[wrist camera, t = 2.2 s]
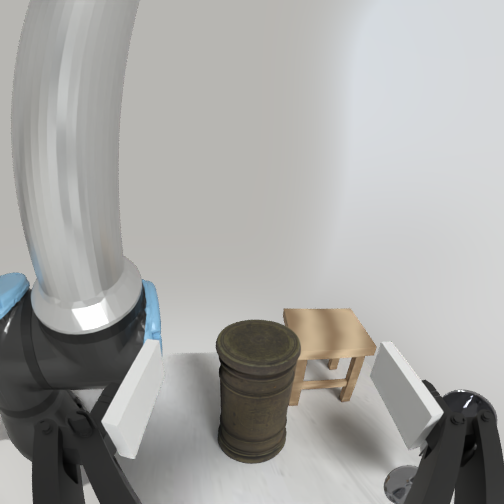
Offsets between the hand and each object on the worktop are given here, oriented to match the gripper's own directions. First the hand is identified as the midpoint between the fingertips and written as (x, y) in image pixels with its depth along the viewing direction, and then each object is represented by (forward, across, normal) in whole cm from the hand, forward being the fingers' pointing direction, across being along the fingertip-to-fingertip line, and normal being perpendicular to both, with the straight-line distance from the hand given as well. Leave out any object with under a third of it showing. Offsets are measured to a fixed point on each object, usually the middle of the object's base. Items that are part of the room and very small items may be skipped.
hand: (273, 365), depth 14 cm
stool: (+22, +11, -23) cm, 34 cm away
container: (+10, 0, -23) cm, 25 cm away
